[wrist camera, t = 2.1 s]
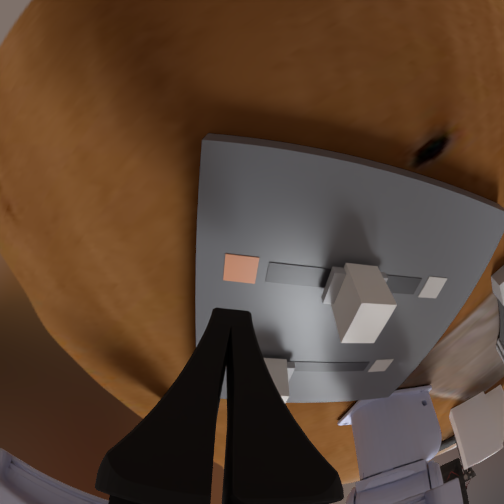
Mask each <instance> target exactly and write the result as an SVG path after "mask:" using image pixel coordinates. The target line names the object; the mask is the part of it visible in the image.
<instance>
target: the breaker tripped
mask: <svg viewBox="0 0 504 504" xmlns="http://www.w3.org/2000/svg"><path fill="white" fill-rule="evenodd" d="M387 280H388V277H387V275H386V273H385V272H380V270H379V268H378V266H371V265H362V264H353V263H345V266H344V268H343V267H334V266H332V269H331V272H330V275H329V277H328V280H327V283H326V286H325V288H324V291H323V294H322V296H321V298H322V302H323V304H331V307H332V311H333V314H334V318H335V322H336V326H337V330H338V334H339V338H340V342H341V343H374V342H375V340H376V339H377V337H378V336H379V334H380V333H381V331H382V329H383V328H384V326H385V324H386V323H387V321H388V320H389V318H390V316H391V315H392V313H393V311H394V309H395V308H396V306H397V304H396V302H395V300H394V298H393V296H392V294H391V292H390V290H389V288H388V286H387V284H386V282H387Z"/></svg>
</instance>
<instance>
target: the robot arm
mask: <svg viewBox="0 0 504 504" xmlns="http://www.w3.org/2000/svg"><path fill="white" fill-rule="evenodd" d="M225 370H226V382H227V435H226V450H225V465H224V479H223V494H222V504H329V503H334V502H337V501H341V500H342V499H343V498H344V495H343V487H342V484H341V480H340V477H339V475H338V472H337V471H336V470H335V469H334V468H333V467H332V466H331V465H330V464H329V463H328V462H327V460H326V459H325V458H324V457H323V456H322V455H321V454H320V453H319V451H318V450H317V449H316V448H315V446H314V445H313V444H312V443H311V441H310V440H309V439H308V438H307V436H306V435H305V433H304V432H303V431H302V429H301V428H300V426H299V425H298V423H297V422H296V421H295V419H294V418H293V416H292V414H291V413H290V411H289V409H288V408H287V406H286V404H285V403H284V401H283V399H282V397H281V396H280V394H279V392H278V390H277V388H276V386H275V384H274V382H273V379H272V377H271V375H270V373H269V371H268V368H267V366H266V363H265V361H264V358H263V355H262V353H261V350H260V347H259V344H258V341H257V338H256V334H255V330H254V326H253V322H252V315H251V313H250V312H249V311H244V310H235V309H226V308H217V307H216V308H214V309H213V310H212V314H211V317H210V320H209V322H208V325H207V327H206V329H205V331H204V334H203V336H202V338H201V339H200V341H199V343H198V345H197V347H196V349H195V351H194V352H193V354H192V356H191V357H190V359H189V361H188V362H187V364H186V365H185V367H184V369H183V370H182V372H181V373H180V375H179V376H178V378H177V379H176V380H175V382H174V383H173V384H172V386H171V387H170V388H169V390H168V391H167V392H166V394H165V395H164V396H163V397H162V399H161V400H160V401H159V402H158V403H157V405H156V406H155V407H154V408H153V409H152V410H151V411H150V412H149V414H148V415H147V416H146V417H145V418H144V419H143V420H142V421H141V422H140V423H139V424H138V425H137V426H136V427H135V428H134V429H133V430H132V431H131V432H130V433H129V434H128V435H126V436H125V437H124V438H123V439H122V440H121V441H120V442H118V443H117V444H116V445H115V446H114V447H112V448H111V449H110V450H109V451H108V452H107V453H106V455H105V457H104V458H103V460H102V462H101V464H100V467H99V470H98V473H97V478H96V484H95V488H96V489H97V490H98V491H101V492H104V493H107V494H109V495H110V498H109V501H108V500H105V499H102V498H99V497H96V496H94V495H91V494H88V493H86V492H83V491H81V490H78V489H76V488H74V487H71V486H69V485H66V484H64V483H62V482H60V481H58V480H56V479H54V478H51V477H49V476H47V475H45V474H43V473H42V472H40V471H38V470H36V469H34V468H32V467H31V466H30V465H28V464H26V463H25V462H23V461H21V460H19V459H18V458H16V457H15V456H13V455H11V454H10V453H8V452H7V451H5V450H3V449H1V448H0V504H210V500H211V484H212V469H213V456H214V443H215V430H216V420H217V413H218V408H219V403H220V397H221V392H222V386H223V381H224V376H225ZM431 389H432V386H431V385H428V386H422V387H415V388H408V389H401V390H395V391H394V392H393V393H392V394H391V395H390V396H389V397H387V398H378V399H368V400H358V401H357V402H356V403H355V405H354V406H353V407H352V408H351V409H350V410H349V411H348V412H347V413H346V414H345V415H344V416H343V417H342V418H341V419H340V420H339V421H338V425H350V424H352V430H353V435H354V441H355V448H356V454H357V461H358V468H359V475H360V481H358V482H355V484H356V487H354V488H353V489H352V490H351V492H350V493H349V495H348V497H347V501H346V504H463V499H462V493H461V488H460V483H459V478H455V479H453V480H451V481H449V482H447V483H443V479H442V474H441V470H440V466H439V463H437V462H434V461H430V462H428V461H429V460H430V459H432V458H433V457H434V456H435V455H436V454H437V452H438V451H439V449H440V445H441V430H440V426H439V423H438V420H437V416H436V413H435V410H434V407H433V404H432V401H431V398H430V395H429V391H430V390H431Z"/></svg>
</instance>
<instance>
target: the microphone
mask: <svg viewBox="0 0 504 504" xmlns="http://www.w3.org/2000/svg"><path fill="white" fill-rule="evenodd" d="M455 443H456V444H457V441H456V438H455V436H453V437H451V438H449V439H447V440H444V441H443V442H441V445H440V449H439V451H441V450H443V449H445V448H447V447H449V446H451V445H453V444H455ZM457 447H458V445H457ZM458 451H459V448H458ZM459 455H460V452H459ZM460 459H461V456H460ZM460 459H459V458H457V459H455V460H453V461H451V462H449V463H446V464H444V465H442V466H440V470H441V474H442V479H443V483H447V482H449V481H451V480H453V479H455V478H459V483H460V488H461V493H462V499H463V504H469V501H468V495H467V491H466V489H467V486H465V482H466V481H468V480H470V479H471V478H473V477H474V476H476V474H475V472H474V471H473V470H472V468H471V467H469V468H468V472H467V469H465V470H464V468H463V464H462V465H461V464H460ZM461 463H462V460H461ZM462 468H463V471H464V474H463V472H462Z"/></svg>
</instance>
